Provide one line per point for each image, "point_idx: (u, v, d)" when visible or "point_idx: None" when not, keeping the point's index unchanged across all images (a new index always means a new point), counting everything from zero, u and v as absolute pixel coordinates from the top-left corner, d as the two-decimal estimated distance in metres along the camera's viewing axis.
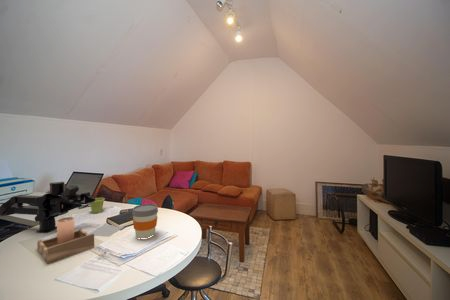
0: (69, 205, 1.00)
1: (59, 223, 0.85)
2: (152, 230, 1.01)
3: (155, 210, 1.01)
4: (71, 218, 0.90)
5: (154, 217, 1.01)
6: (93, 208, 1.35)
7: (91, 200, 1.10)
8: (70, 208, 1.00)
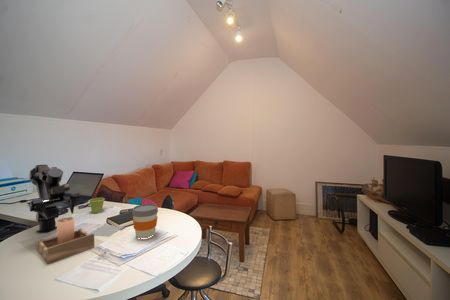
0: None
1: (59, 223, 0.85)
2: (152, 230, 1.01)
3: (155, 210, 1.01)
4: (71, 218, 0.90)
5: (154, 217, 1.01)
6: (93, 208, 1.35)
7: (71, 209, 0.98)
8: (41, 212, 0.91)
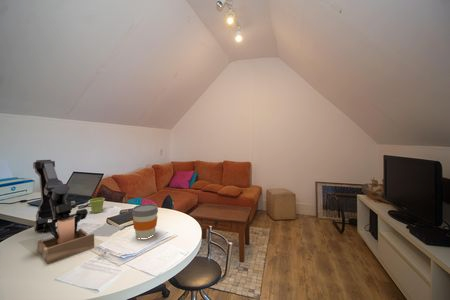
0: None
1: (59, 223, 0.85)
2: (152, 230, 1.01)
3: (155, 210, 1.01)
4: (71, 218, 0.90)
5: (154, 217, 1.01)
6: (93, 208, 1.35)
7: None
8: (50, 231, 0.86)
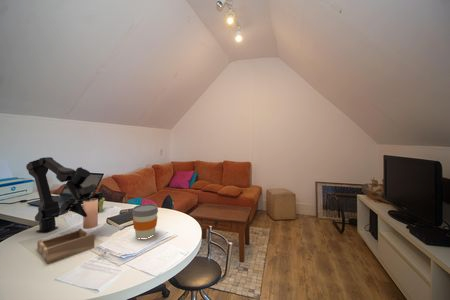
0: (77, 208, 0.94)
1: (87, 203, 0.94)
2: (152, 230, 1.01)
3: (155, 210, 1.01)
4: (95, 199, 0.99)
5: (154, 217, 1.01)
6: None
7: None
8: (76, 211, 0.94)
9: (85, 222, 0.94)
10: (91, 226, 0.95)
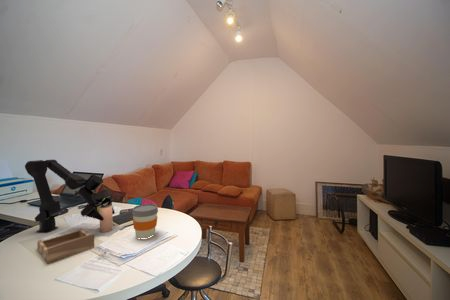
0: (93, 212, 1.01)
1: (105, 209, 1.04)
2: (152, 230, 1.01)
3: (155, 210, 1.01)
4: (109, 205, 1.09)
5: (154, 217, 1.01)
6: None
7: None
8: (92, 216, 1.01)
9: (103, 226, 1.04)
10: (109, 229, 1.05)
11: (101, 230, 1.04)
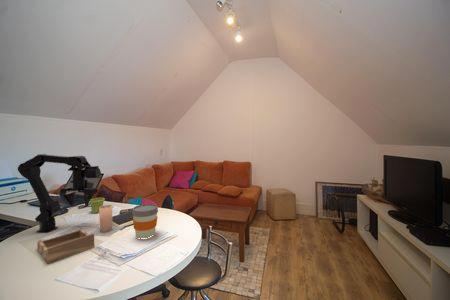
0: (88, 196, 1.10)
1: (105, 209, 1.04)
2: (152, 230, 1.01)
3: (155, 210, 1.01)
4: (109, 205, 1.08)
5: (154, 217, 1.01)
6: (93, 208, 1.35)
7: (71, 201, 1.11)
8: (87, 198, 1.08)
9: (103, 227, 1.04)
10: (109, 229, 1.05)
11: (101, 230, 1.04)
